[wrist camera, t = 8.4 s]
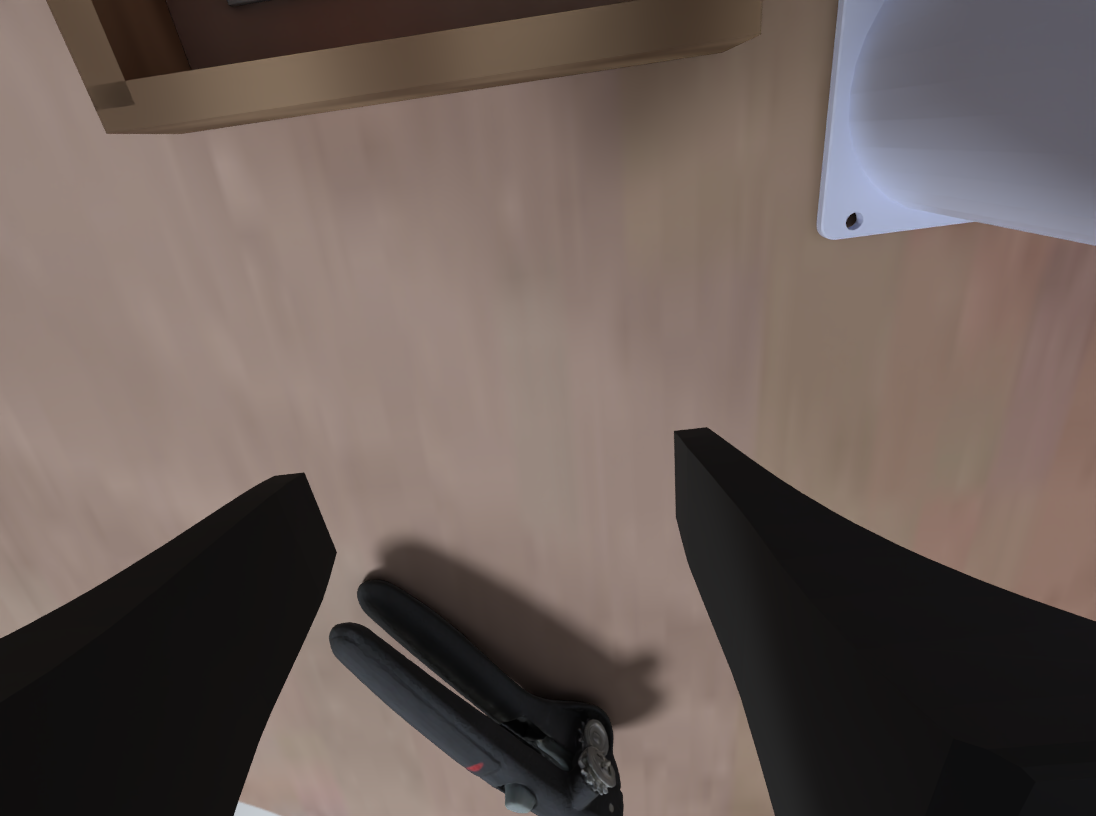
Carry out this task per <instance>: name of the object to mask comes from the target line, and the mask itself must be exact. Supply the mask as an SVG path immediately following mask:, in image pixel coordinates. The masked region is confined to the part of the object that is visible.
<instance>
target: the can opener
mask: <svg viewBox="0 0 1096 816" xmlns="http://www.w3.org/2000/svg"><path fill="white" fill-rule="evenodd" d="M357 597H358V601H359V604H360V606H361V608H362V609H363V611H364V612H365V613H366V614H367V615H368V616H369V617H370V618H371V619H372V620H373V621H374V622H376V623H377V624H378V625H379V626H380V627H381V628H383V629H384V630H385V631H386V632H387V633H388V634H389V635H390V636H391V637H393V638H394V639H395V640H396V641H397V642H399V643H400V644H401V645H402V646H403V647H404V648H406V649H407V650H408V651H409V652H410V653H411V654H412V655H414V656H415V657H416V658H417V659H419V660H420V661H421V662H422V663H423V664H425V665H426V666H427V667H428V668H429V669H431V670H432V671H433V672H434V673H436V674H437V675H438V676H439V677H440V678H442V679H443V680H444V681H445V682H447V683H448V684H449V685H450V686H452V687H453V688H454V689H455V690H456V691H458V692H459V693H460V694H461V695H463V696H464V697H465V698H466V699H467V700H469V701H470V702H471V703H473V704H474V705H475V706H476V707H477V708H479V709H480V710H481V711H482V712H484V713H485V714H486V715H488V716H489V717H490V718H491V719H490V718H489V717H487V716H486V715H484V714H483V713H481V712H480V711H479V710H477V709H476V708H474V707H473V706H471V705H470V704H469V703H467V702H466V701H464V700H463V699H462V698H460V697H459V696H458V695H456V694H455V693H453V692H452V691H451V690H449V689H448V688H446V687H445V686H444V685H443V684H441V683H440V682H438V681H437V680H435V679H434V678H433V677H431V676H430V675H429V674H427V673H426V672H425V671H424V670H422V669H421V668H420V667H418V666H417V665H416V664H414V663H413V662H412V661H410V660H409V659H407V658H406V657H405V656H404V655H402V654H401V653H400V652H398V651H397V650H396V649H394V648H393V647H392V646H391V645H389V644H388V643H386V642H385V641H384V640H383V639H381V638H380V637H379V636H377V635H376V634H375V633H373V632H372V631H371V630H370V629H368V628H367V627H365V626H363V625H360V624H357V623H351V622H349V623H341V624H337V625H335V626H334V627H333V628H332V630H331V632H330V635H329V641H330V645H331V649H332V652H333V653H334V655H335V656H336V658H337V659H338V660H339V661H340V662H341V663H342V664H343V665H344V666H345V667H346V668H348V669H349V670H350V671H351V672H352V673H353V674H354V675H355V676H356V677H357V678H358V679H359V680H360V681H361V682H362V683H363V684H365V685H366V686H367V687H368V688H369V689H370V690H371V691H372V692H373V693H374V694H375V695H377V696H378V697H379V698H380V699H381V700H382V701H383V702H384V703H385V704H387V705H388V706H389V707H390V708H391V709H392V710H393V711H395V712H396V713H397V714H398V715H399V716H401V717H402V718H403V719H404V720H405V721H407V722H408V723H409V724H410V725H411V726H413V727H414V728H415V729H416V730H418V731H419V732H420V733H421V734H422V735H424V736H425V737H426V738H427V739H429V740H430V741H431V742H432V743H434V744H435V745H436V746H437V747H438V748H440V749H441V750H442V751H444V752H445V753H446V754H447V755H448V756H450V757H451V758H452V759H454V760H455V761H456V762H457V763H459V764H461V765H462V766H463V767H465V768H466V769H467V770H468V771H470V772H471V773H473V774H474V775H476V776H479V777H480V778H481V779H483V780H484V781H486V782H487V783H488V784H490V785H491V786H492V787H494V788H496V789H498V790H500V791H501V792H503V793H505V806H506V808H507V809H509V810H511V811H513V812H517V813H528V812H530V811H531V812H533V813H534V814H536V815H538V816H623V806H624V805H623V795H622V792H621V791H620V788H621V782H620V776H619V772H618V767H617V764H616V761H615V759H614V756H613V730H612V725H611V722H610V719H609V717H608V716H607V714H606V713H605V712H604V711H603V710H602V709H600V708H599V707H597V706H595V705H592V704H588V703H583V702H574V701H557V700H548V699H544V698H540V697H538V696H535V695H533V694H531V693H529V692H527V691H526V690H524V689H523V688H521V687H520V686H519V685H518V684H516V683H515V682H514V681H513V680H512V679H510V678H509V677H508V676H507V675H506V674H505V673H504V672H503V671H501V670H500V669H499V668H498V667H497V666H496V665H495V664H494V663H492V662H491V661H490V660H489V659H488V658H487V657H486V656H485V655H484V654H483V653H482V652H481V651H480V650H479V649H477V648H476V647H475V646H474V645H473V644H472V643H471V642H470V641H469V640H468V639H467V638H466V637H464V636H463V635H462V634H461V633H460V632H459V631H458V630H456V629H455V628H454V627H453V626H452V625H451V624H449V623H448V622H447V621H446V620H444V619H443V618H442V617H441V616H439V615H438V614H437V613H435V612H434V611H433V610H431V609H430V608H428V607H427V606H426V605H424V604H423V603H421V602H420V601H418V600H417V599H415V598H414V597H412V596H411V595H409V594H408V593H406V592H404V591H403V590H401V589H400V588H398V587H396V586H395V585H393V584H391V583H389V582H386V581H382V580H371V581H366V582H364V583H362V584H361V585H360V586H359V588H358V591H357Z"/></svg>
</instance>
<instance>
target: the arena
mask: <svg viewBox="0 0 1096 816" xmlns="http://www.w3.org/2000/svg"><path fill="white" fill-rule="evenodd" d="M46 1H47V3H48V5H49V8H50V10H51V12H52V14H53V16H54V19H55V21H56V23H57V25H58V28H59V30H60V32H61V34H62V36H63V39H64V41H65V43H66V45H67V47H68V50H69V52H70V54H71V56H72V58H73V61H74V63H75V65H76V67H77V69H78V72H79V74H80V76H81V78H82V80H83V83H84V85H85V87H86V89H87V91H88V94H89V96H90V98H91V100H92V102H93V105H94V107H95V109H96V111H97V114H98V116H99V118H100V120H101V122H102V125H103V127H104V129H105V131H106V133H107V134H184V133H190V132H197V131H204V130H210V129H217V128H224V127H230V126H237V125H243V124H250V123H257V122H263V121H270V120H277V119H283V118H290V117H297V116H303V115H310V114H317V113H323V112H330V111H336V110H343V109H350V108H356V107H363V106H370V105H376V104H383V103H390V102H396V101H403V100H410V99H416V98H423V97H430V96H436V95H443V94H449V93H456V92H463V91H469V90H476V89H483V88H489V87H496V86H503V85H509V84H516V83H523V82H529V81H536V80H543V79H549V78H556V77H562V76H569V75H576V74H582V73H589V72H596V71H602V70H609V69H616V68H622V67H629V66H636V65H642V64H649V63H655V62H662V61H669V60H675V59H682V58H689V57H695V56H702V55H709V54H715V53H722V52H724V51H726V50H729V49H731V48H733V47H735V46H737V45H739V44H741V43H744V42H746V41H748V40H750V39H752V38H754V37H756V36H758V35H761V20H762V0H636V1H629V2H623V3H617V4H610V5H604V6H598V7H591V8H585V9H578V10H572V11H566V12H559V13H553V14H547V15H540V16H534V17H528V18H521V19H515V20H508V21H502V22H496V23H489V24H483V25H477V26H470V27H464V28H458V29H451V30H445V31H438V32H432V33H426V34H419V35H413V36H407V37H400V38H394V39H388V40H381V41H375V42H368V43H362V44H356V45H349V46H343V47H337V48H330V49H324V50H318V51H311V52H305V53H298V54H292V55H286V56H279V57H273V58H267V59H260V60H254V61H248V62H241V63H235V64H229V65H222V66H216V67H209V68H203V69H197V70H191V69H190V66H189V63H188V61H187V58H186V55H185V53H184V50H183V47H182V45H181V42H180V39H179V36H178V34H177V31H176V28H175V26H174V23H173V20H172V18H171V15H170V12H169V9H168V7H167V4H166V1H165V0H46ZM263 1H269V0H227V2H228V5H230V6H238V5H244V4H250V3H257V2H263Z"/></svg>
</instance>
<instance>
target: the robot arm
mask: <svg viewBox="0 0 1096 816" xmlns="http://www.w3.org/2000/svg"><path fill="white" fill-rule="evenodd" d="M852 213H856V217H857V219H856V222H855V223H854V224H853V225H852V226H851V227H849V228H847V227H846V220H847V218H848V217H849V216H850V215H851V214H852ZM967 222H980V223H985V224H990V225H995V226H1000V227H1005V228H1010V229H1015V230H1020V231H1025V232H1030V233H1035V234H1040V235H1045V236H1050V237H1055V238H1060V239H1065V240H1070V241H1075V242H1080V243H1085V244H1090V245H1095V246H1096V0H839V3H838V13H837V23H836V34H835V44H834V54H833V64H832V74H831V84H830V94H829V104H828V114H827V124H826V134H825V144H824V154H823V164H822V175H821V185H820V195H819V205H818V215H817V230H818V232H819V234H820V235H821V236H823V237H825V238H827V239H833V240H837V239H844V238H852V237H860V236H867V235H875V234H883V233H890V232H898V231H906V230H914V229H921V228H929V227H937V226H944V225H952V224H960V223H967ZM674 450H675V495H676V519H677V523H678V527H679V531H680V535H681V539H682V543H683V546H684V550H685V554H686V557H687V561H688V564H689V567H690V570H691V572H692V575H693V577H694V580H695V582H696V585H697V587H698V590H699V592H700V595H701V597H702V600H703V602H704V605H705V607H706V610H707V612H708V615H709V617H710V620H711V622H712V625H713V627H714V630H715V632H716V635H717V637H718V640H719V642H720V644H721V647H722V649H723V652H724V654H725V657H726V659H727V662H728V664H729V667H730V669H731V672H732V675H733V677H734V680H735V683H736V686H737V689H738V691H739V694H740V697H741V700H742V703H743V707H744V710H745V713H746V717H747V720H748V724H749V727H750V730H751V734H752V737H753V740H754V744H755V747H756V751H757V754H758V757H759V761H760V764H761V768H762V771H763V775H764V778H765V782H766V785H767V789H768V792H769V796H770V800H771V803H772V807H773V810H774V814H775V816H1096V621H1093V620H1090V619H1087V618H1084V617H1081V616H1078V615H1075V614H1072V613H1069V612H1067V611H1064V610H1061V609H1058V608H1055V607H1052V606H1049V605H1046V604H1044V603H1041V602H1038V601H1035V600H1032V599H1029V598H1026V597H1023V596H1021V595H1018V594H1015V593H1013V592H1010V591H1007V590H1005V589H1002V588H999V587H997V586H994V585H991V584H989V583H986V582H984V581H981V580H978V579H976V578H974V577H971V576H969V575H966V574H964V573H962V572H959V571H957V570H954V569H952V568H950V567H947V566H945V565H942V564H940V563H938V562H935V561H933V560H930V559H928V558H926V557H923V556H921V555H919V554H917V553H915V552H912V551H910V550H908V549H906V548H904V547H901V546H899V545H897V544H895V543H893V542H891V541H889V540H887V539H885V538H883V537H881V536H879V535H877V534H875V533H873V532H871V531H869V530H867V529H865V528H863V527H861V526H859V525H857V524H855V523H853V522H851V521H849V520H848V519H846V518H844V517H842V516H840V515H838V514H837V513H835V512H833V511H831V510H830V509H828V508H826V507H825V506H823V505H821V504H820V503H818V502H816V501H815V500H813V499H811V498H809V497H808V496H806V495H804V494H803V493H801V492H800V491H798V490H796V489H795V488H793V487H792V486H790V485H789V484H787V483H785V482H784V481H782V480H781V479H779V478H778V477H776V476H775V475H773V474H772V473H770V472H769V471H767V470H766V469H765V468H763V467H762V466H760V465H759V464H757V463H756V462H755V461H753V460H752V459H750V458H749V457H747V456H746V455H745V454H743V453H742V452H741V451H739V450H738V449H736V448H735V447H734V446H732V445H731V444H730V443H728V442H727V441H725V440H724V439H723V438H721V437H720V436H719V435H717V434H716V433H714V432H713V431H712V430H710V429H709V428H707V427H706V428H697V429H688V430H679V431H674ZM336 553H337V552H336V549H335V547H334V544H333V542H332V539H331V537H330V534H329V532H328V529H327V527H326V525H325V522H324V520H323V517H322V515H321V512H320V510H319V507H318V505H317V502H316V500H315V498H314V495H313V493H312V490H311V488H310V485H309V483H308V480H307V478H306V475H305V473H296V474H287V475H278V476H273V477H271V478H269V479H267V480H265V481H264V482H262V483H260V484H258V485H256V486H255V487H253V488H251V489H250V490H248V491H246V492H245V493H243V494H242V495H240V496H238V497H237V498H235V499H234V500H232V501H231V502H229V503H227V504H226V505H224V506H223V507H221V508H220V509H218V510H217V511H215V512H214V513H212V514H211V515H209V516H208V517H206V518H205V519H203V520H201V521H200V522H198V523H197V524H195V525H194V526H192V527H191V528H189V529H188V530H186V531H185V532H183V533H182V534H180V535H179V536H177V537H176V538H174V539H173V540H171V541H169V542H168V543H166V544H165V545H163V546H162V547H160V548H158V549H157V550H155V551H153V552H152V553H150V554H149V555H147V556H145V557H144V558H142V559H141V560H139V561H137V562H136V563H134V564H133V565H131V566H129V567H128V568H126V569H124V570H123V571H121V572H120V573H118V574H116V575H115V576H113V577H112V578H110V579H108V580H107V581H105V582H103V583H102V584H100V585H98V586H97V587H95V588H93V589H91V590H90V591H88V592H86V593H84V594H83V595H81V596H79V597H77V598H76V599H74V600H72V601H70V602H69V603H67V604H65V605H63V606H61V607H59V608H58V609H56V610H54V611H52V612H50V613H48V614H47V615H45V616H43V617H41V618H39V619H37V620H35V621H34V622H32V623H30V624H28V625H26V626H24V627H22V628H20V629H18V630H16V631H15V632H13V633H11V634H9V635H7V636H5V637H3V638H0V816H234V813H235V810H236V806H237V804H238V800H239V797H240V795H241V792H242V789H243V786H244V783H245V780H246V778H247V775H248V772H249V769H250V766H251V763H252V760H253V758H254V755H255V752H256V749H257V746H258V743H259V741H260V738H261V736H262V733H263V731H264V728H265V726H266V724H267V721H268V719H269V716H270V714H271V712H272V709H273V707H274V705H275V703H276V701H277V699H278V697H279V694H280V692H281V690H282V688H283V686H284V684H285V681H286V679H287V677H288V675H289V673H290V671H291V669H292V666H293V664H294V662H295V660H296V658H297V656H298V653H299V651H300V649H301V647H302V645H303V643H304V641H305V638H306V636H307V634H308V632H309V630H310V627H311V625H312V623H313V621H314V618H315V616H316V614H317V612H318V609H319V607H320V605H321V603H322V600H323V597H324V594H325V591H326V588H327V585H328V582H329V579H330V575H331V572H332V568H333V564H334V561H335V557H336Z"/></svg>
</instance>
